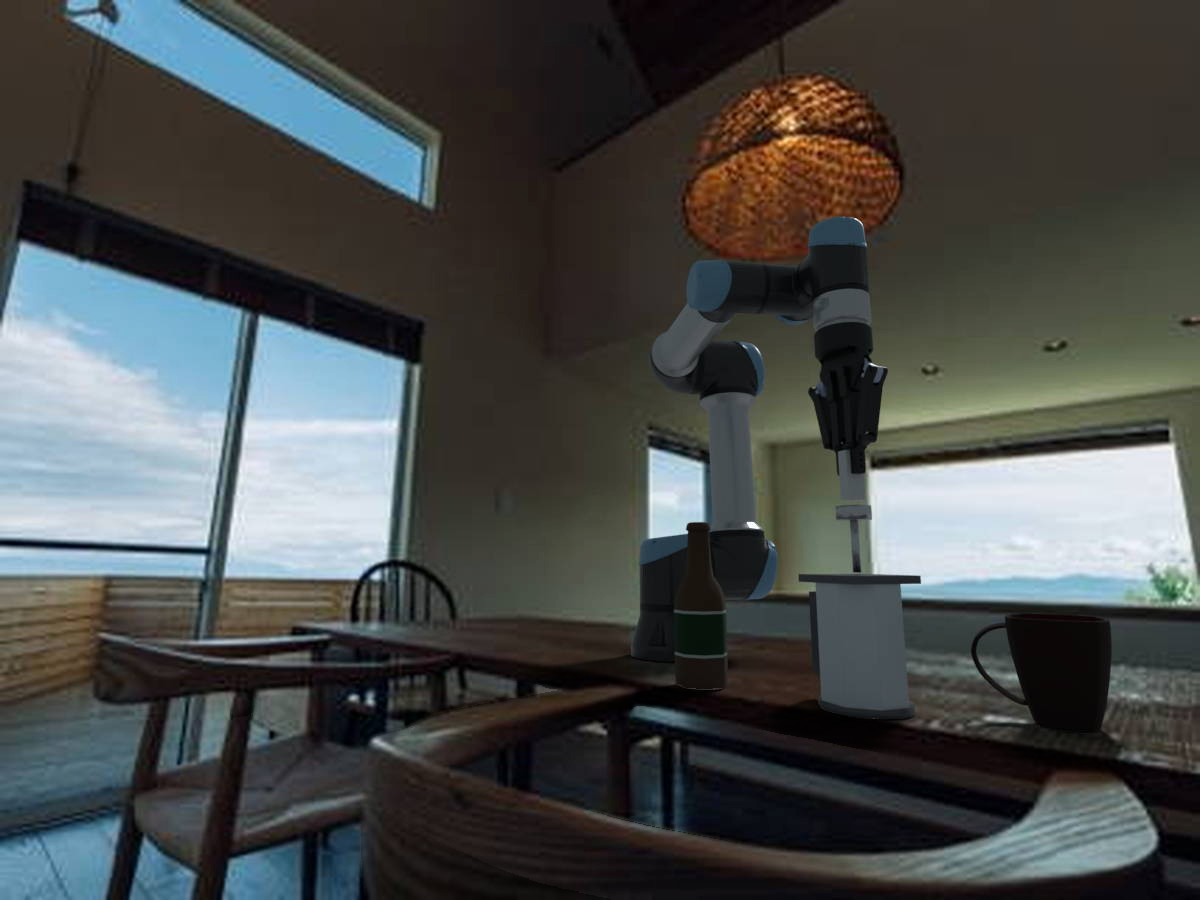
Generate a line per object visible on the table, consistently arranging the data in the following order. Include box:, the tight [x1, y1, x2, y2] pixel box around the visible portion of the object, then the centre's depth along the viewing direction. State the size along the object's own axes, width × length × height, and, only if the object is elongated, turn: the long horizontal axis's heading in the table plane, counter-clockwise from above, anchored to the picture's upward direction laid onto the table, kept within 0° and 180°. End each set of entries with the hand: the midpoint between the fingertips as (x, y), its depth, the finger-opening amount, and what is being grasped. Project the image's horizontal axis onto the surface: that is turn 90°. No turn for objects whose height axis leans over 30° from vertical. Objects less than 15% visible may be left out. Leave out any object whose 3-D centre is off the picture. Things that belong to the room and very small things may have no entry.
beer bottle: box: [674, 521, 729, 689], centre depth 97 cm, size 8×8×24 cm
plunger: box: [834, 504, 873, 574], centre depth 85 cm, size 4×4×9 cm
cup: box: [970, 612, 1113, 735], centre depth 75 cm, size 10×14×12 cm
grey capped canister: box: [798, 573, 922, 720], centre depth 84 cm, size 14×11×16 cm
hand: (852, 499), depth 85 cm, fingers closed
